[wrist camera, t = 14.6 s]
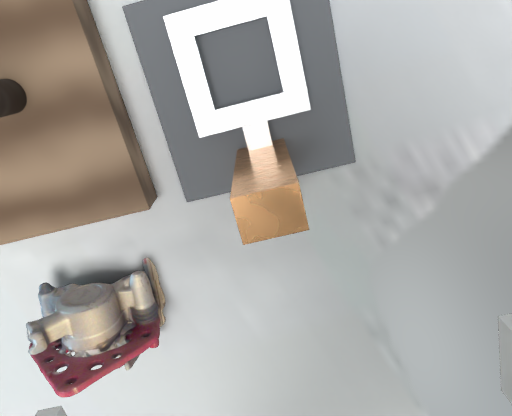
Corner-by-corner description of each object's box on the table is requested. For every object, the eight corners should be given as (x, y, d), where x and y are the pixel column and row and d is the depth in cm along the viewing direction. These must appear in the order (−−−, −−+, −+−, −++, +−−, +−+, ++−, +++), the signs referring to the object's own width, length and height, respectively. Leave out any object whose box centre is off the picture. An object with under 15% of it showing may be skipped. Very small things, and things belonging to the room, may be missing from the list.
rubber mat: (354, 160, 35) (355, 162, 35) (187, 200, 37) (187, 202, 36) (319, -49, 30) (320, -50, 29) (123, 7, 31) (122, 6, 31)
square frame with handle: (319, 164, 35) (351, 220, 24) (218, 189, 36) (202, 254, 25) (284, -15, 30) (303, -52, 19) (167, 17, 31) (118, 1, 20)
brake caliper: (63, 383, 41) (-20, 406, 30) (68, 272, 44) (-5, 254, 33) (176, 374, 41) (137, 393, 29) (173, 264, 44) (138, 242, 32)
